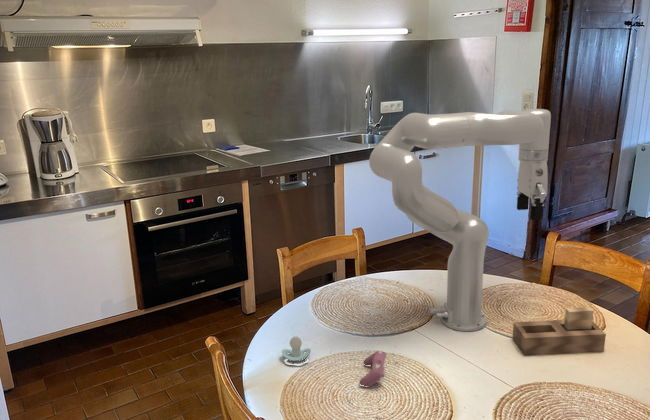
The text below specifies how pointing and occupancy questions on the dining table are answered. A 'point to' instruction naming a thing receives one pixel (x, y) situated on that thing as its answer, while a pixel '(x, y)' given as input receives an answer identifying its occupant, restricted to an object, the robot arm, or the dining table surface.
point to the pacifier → (296, 350)
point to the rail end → (578, 319)
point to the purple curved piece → (374, 368)
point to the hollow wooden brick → (556, 338)
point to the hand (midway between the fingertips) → (529, 214)
